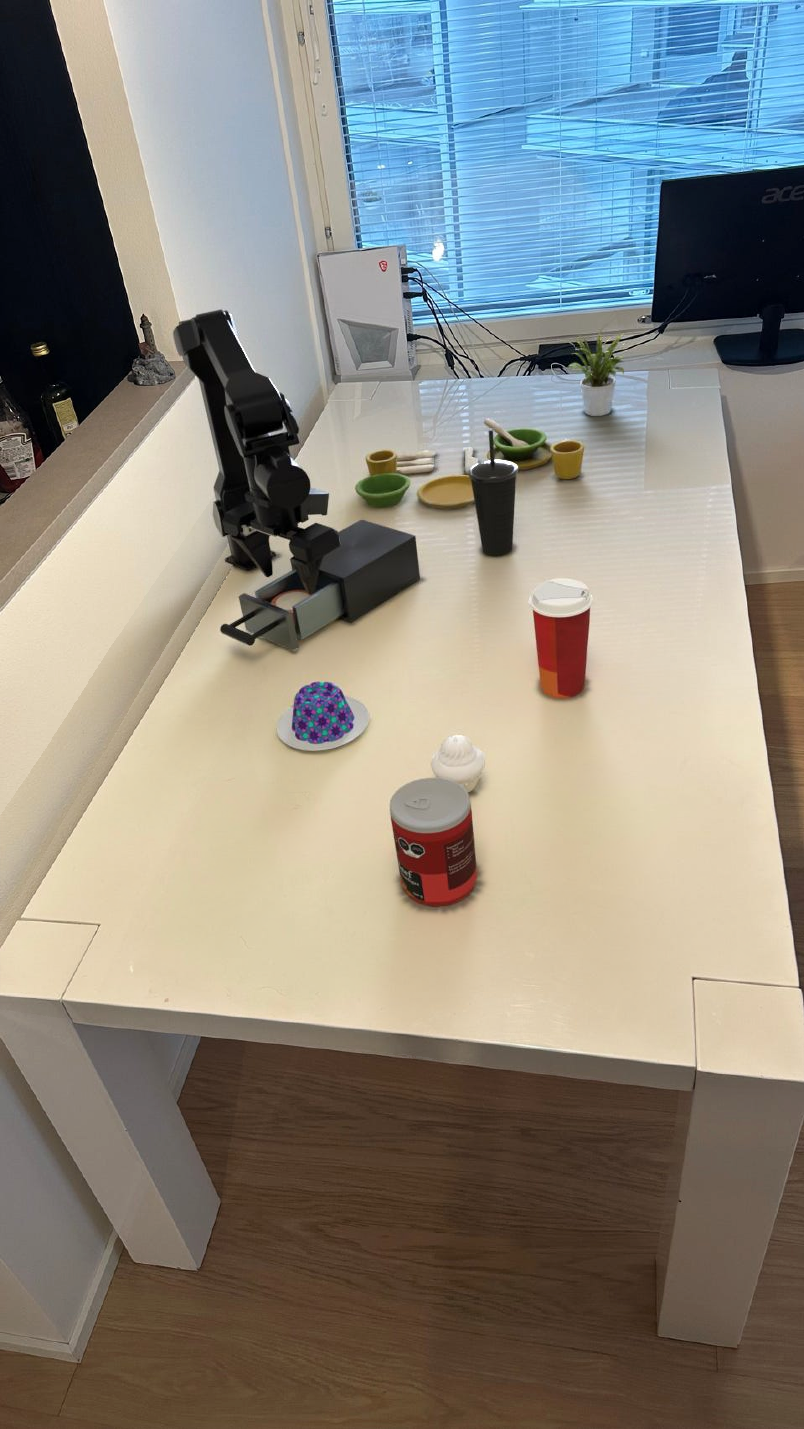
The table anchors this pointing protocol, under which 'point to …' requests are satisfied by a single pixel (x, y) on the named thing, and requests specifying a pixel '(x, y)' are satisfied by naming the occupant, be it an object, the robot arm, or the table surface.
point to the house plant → (598, 377)
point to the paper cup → (561, 635)
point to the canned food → (434, 840)
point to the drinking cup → (494, 502)
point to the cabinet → (371, 566)
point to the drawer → (279, 621)
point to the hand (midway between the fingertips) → (290, 584)
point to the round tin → (290, 600)
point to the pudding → (322, 718)
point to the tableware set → (457, 489)
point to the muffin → (458, 762)
